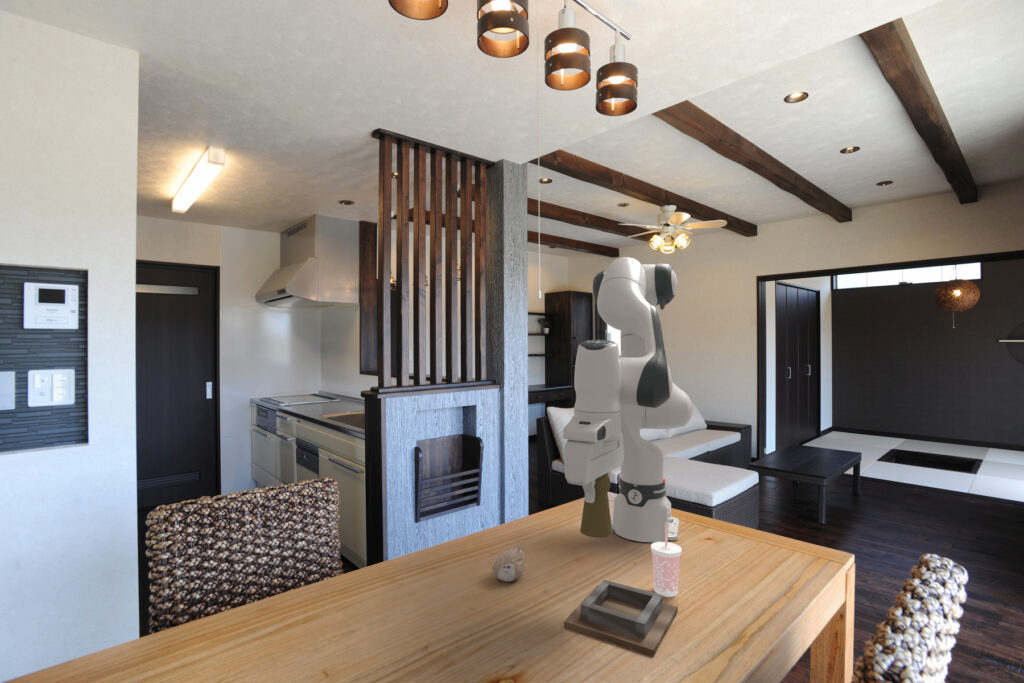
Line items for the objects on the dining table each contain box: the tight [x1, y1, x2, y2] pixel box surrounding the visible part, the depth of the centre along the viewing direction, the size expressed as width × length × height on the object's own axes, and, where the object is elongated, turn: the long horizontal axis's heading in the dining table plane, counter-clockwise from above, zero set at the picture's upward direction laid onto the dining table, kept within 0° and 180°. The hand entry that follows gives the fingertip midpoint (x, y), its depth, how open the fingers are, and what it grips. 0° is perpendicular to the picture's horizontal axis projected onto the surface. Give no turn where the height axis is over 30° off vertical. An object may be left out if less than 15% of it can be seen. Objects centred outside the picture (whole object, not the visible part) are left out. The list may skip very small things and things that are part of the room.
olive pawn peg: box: [579, 474, 613, 539], centre depth 95 cm, size 6×6×11 cm
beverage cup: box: [650, 522, 683, 598], centre depth 103 cm, size 6×6×14 cm
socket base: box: [563, 579, 679, 657], centre depth 92 cm, size 16×16×4 cm
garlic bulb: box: [492, 541, 525, 583], centre depth 107 cm, size 7×6×8 cm
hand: (596, 498), depth 95 cm, fingers closed on olive pawn peg, 4 cm apart
